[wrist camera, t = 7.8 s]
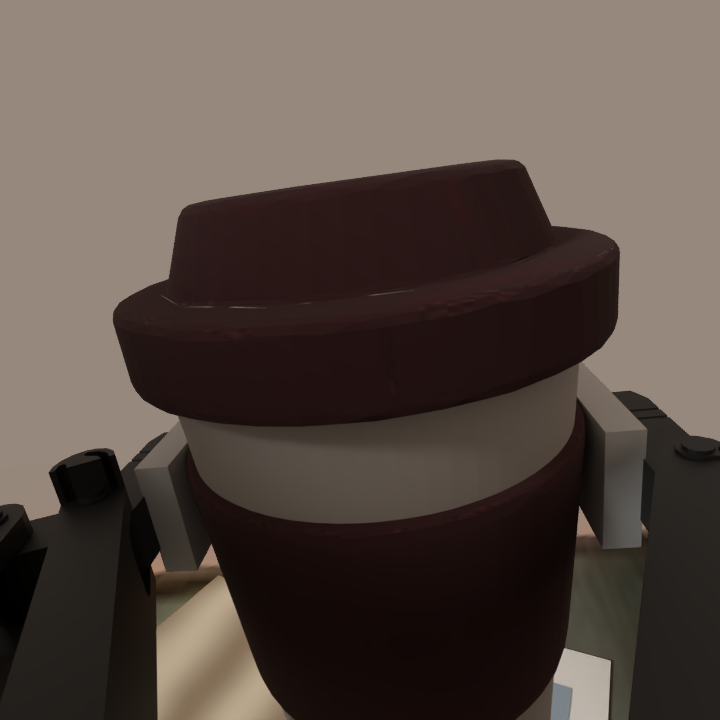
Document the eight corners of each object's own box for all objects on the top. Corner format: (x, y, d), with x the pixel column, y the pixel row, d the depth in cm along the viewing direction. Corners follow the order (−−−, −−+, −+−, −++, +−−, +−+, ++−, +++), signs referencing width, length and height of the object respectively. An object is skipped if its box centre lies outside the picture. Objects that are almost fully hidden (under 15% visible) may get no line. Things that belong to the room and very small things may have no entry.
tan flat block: (72, 781, 30) (44, 719, 28) (233, 625, 39) (218, 572, 37) (211, 936, 22) (183, 865, 21) (367, 700, 32) (356, 638, 30)
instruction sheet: (416, 724, 30) (415, 721, 30) (455, 620, 37) (455, 617, 37) (604, 797, 25) (604, 793, 25) (610, 663, 32) (610, 659, 32)
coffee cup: (420, 550, 22) (377, 179, 17) (673, 715, 14) (725, 127, 9) (198, 707, 16) (41, 225, 11) (416, 1116, 9) (223, 187, 4)
